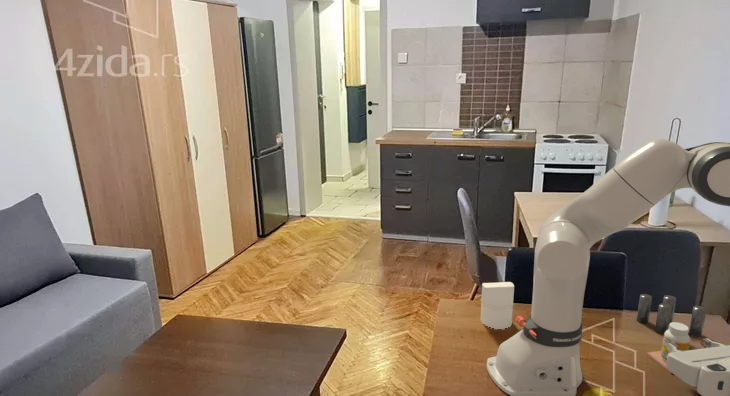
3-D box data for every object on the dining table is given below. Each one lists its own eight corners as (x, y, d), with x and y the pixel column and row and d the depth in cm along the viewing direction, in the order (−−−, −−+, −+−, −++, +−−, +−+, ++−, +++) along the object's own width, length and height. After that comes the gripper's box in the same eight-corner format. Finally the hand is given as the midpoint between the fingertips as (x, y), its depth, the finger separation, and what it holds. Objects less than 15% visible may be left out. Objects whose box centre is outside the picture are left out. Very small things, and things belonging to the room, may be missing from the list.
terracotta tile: (670, 373, 111) (671, 371, 111) (646, 354, 119) (646, 352, 119) (699, 369, 112) (700, 367, 112) (673, 351, 120) (674, 349, 120)
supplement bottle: (656, 359, 116) (662, 325, 113) (665, 351, 119) (670, 318, 116) (681, 369, 112) (687, 334, 109) (689, 360, 115) (695, 326, 112)
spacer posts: (665, 341, 124) (670, 314, 122) (634, 318, 136) (637, 294, 134) (704, 336, 126) (709, 310, 124) (670, 315, 138) (674, 290, 135)
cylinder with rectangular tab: (505, 313, 141) (507, 277, 138) (516, 328, 132) (519, 291, 129) (476, 314, 141) (478, 278, 137) (485, 330, 132) (487, 292, 129)
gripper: (784, 360, 98) (725, 327, 112) (700, 371, 96) (650, 336, 109) (778, 385, 100) (721, 349, 113) (695, 397, 97) (647, 359, 110)
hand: (686, 343), depth 111 cm, fingers open, 8 cm apart
